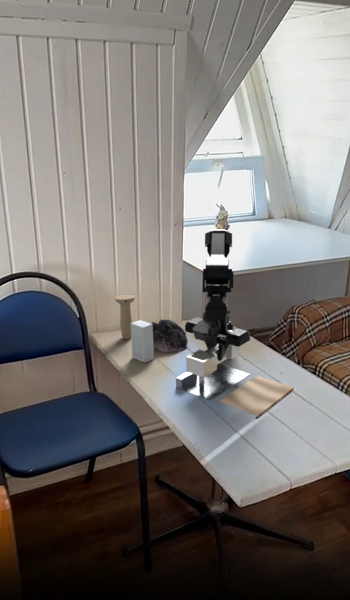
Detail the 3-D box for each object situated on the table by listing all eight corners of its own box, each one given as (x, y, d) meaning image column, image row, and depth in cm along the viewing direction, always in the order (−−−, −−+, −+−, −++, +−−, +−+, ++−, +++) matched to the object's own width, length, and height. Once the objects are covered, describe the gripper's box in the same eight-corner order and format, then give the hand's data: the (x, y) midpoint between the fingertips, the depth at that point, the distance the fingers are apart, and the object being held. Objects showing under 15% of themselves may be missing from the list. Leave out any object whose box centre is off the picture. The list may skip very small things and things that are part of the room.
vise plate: (217, 365, 170) (217, 349, 168) (250, 376, 163) (251, 359, 161) (176, 390, 155) (175, 373, 154) (210, 403, 148) (210, 385, 146)
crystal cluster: (195, 342, 189) (193, 314, 187) (179, 355, 177) (178, 325, 175) (159, 340, 195) (158, 312, 192) (142, 352, 182) (140, 323, 180)
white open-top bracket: (223, 350, 165) (224, 336, 164) (240, 355, 162) (241, 341, 160) (186, 371, 152) (186, 356, 151) (203, 377, 149) (203, 362, 147)
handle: (137, 339, 191) (135, 298, 186) (118, 341, 189) (116, 300, 185) (134, 334, 195) (132, 294, 190) (116, 336, 194) (114, 295, 189)
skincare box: (154, 359, 176) (153, 323, 172) (144, 363, 173) (143, 327, 169) (141, 353, 180) (139, 319, 176) (131, 358, 177) (129, 323, 173)
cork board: (256, 378, 161) (256, 375, 161) (293, 390, 154) (293, 387, 154) (218, 404, 148) (218, 401, 147) (257, 419, 140) (257, 415, 140)
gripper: (172, 308, 152) (173, 360, 157) (228, 323, 141) (227, 378, 146) (196, 298, 160) (197, 347, 165) (251, 311, 149) (250, 364, 154)
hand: (216, 359), depth 157 cm, fingers closed on white open-top bracket, 2 cm apart
